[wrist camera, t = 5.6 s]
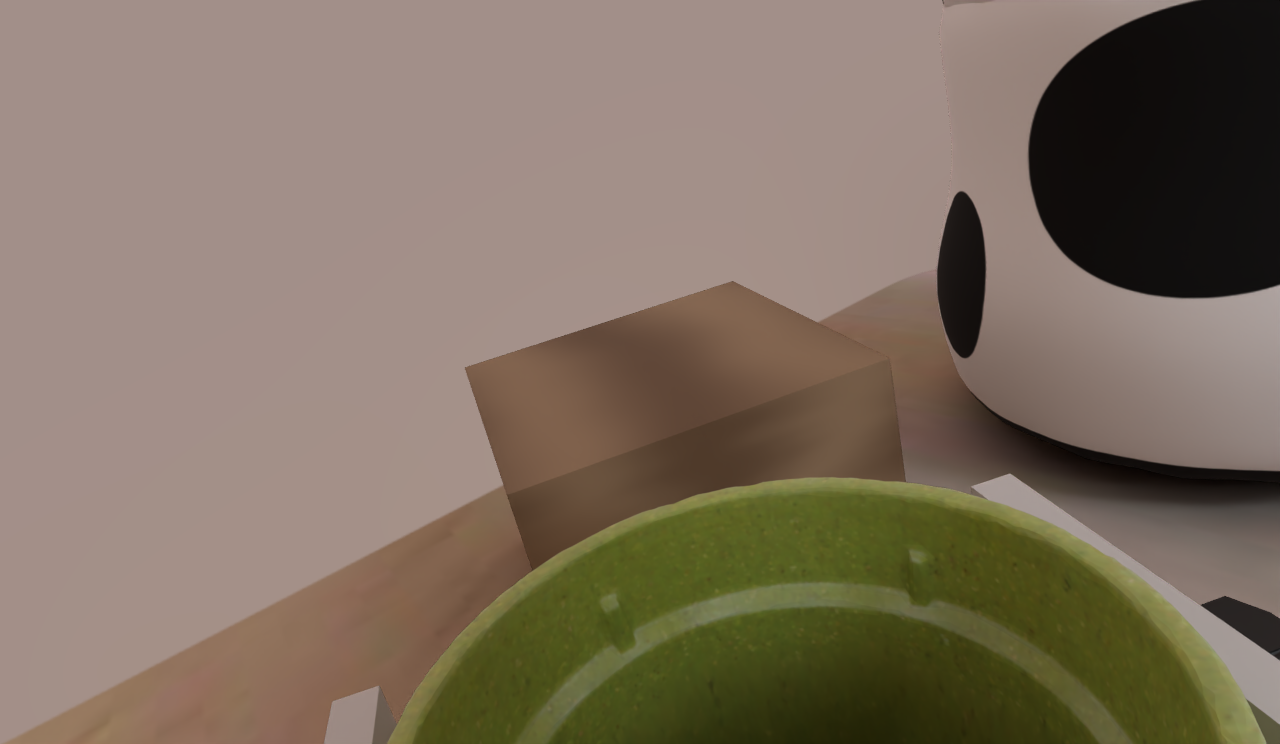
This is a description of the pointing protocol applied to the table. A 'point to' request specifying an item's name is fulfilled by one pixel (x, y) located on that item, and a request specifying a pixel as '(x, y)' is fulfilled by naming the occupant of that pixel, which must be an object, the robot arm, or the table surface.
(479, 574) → the table surface
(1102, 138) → the milk container
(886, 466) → the walnut block
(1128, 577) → the plant pot
